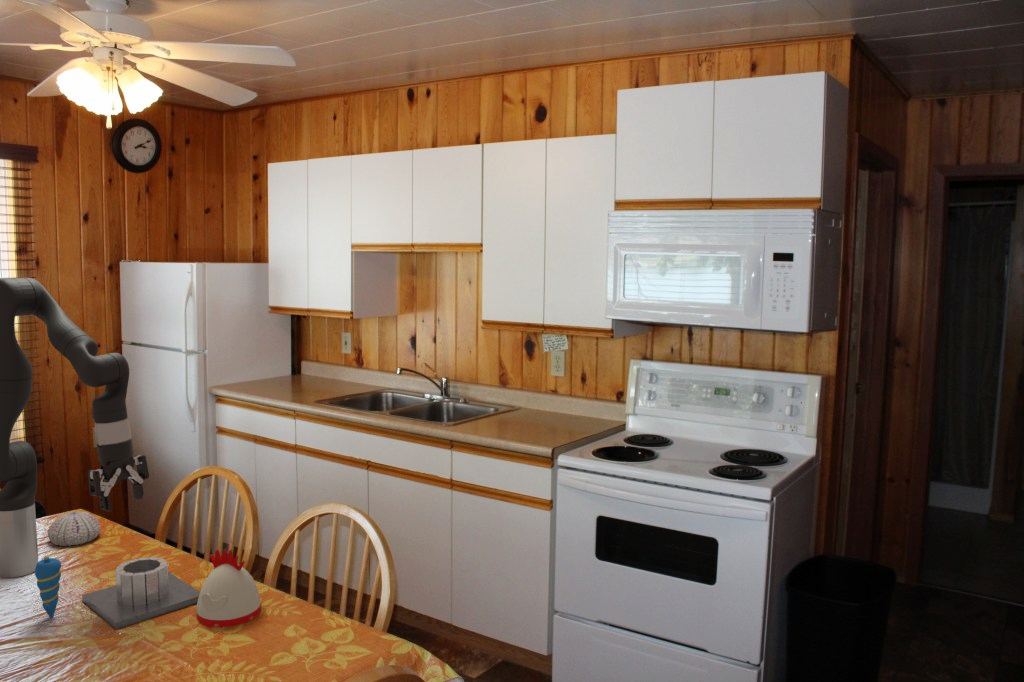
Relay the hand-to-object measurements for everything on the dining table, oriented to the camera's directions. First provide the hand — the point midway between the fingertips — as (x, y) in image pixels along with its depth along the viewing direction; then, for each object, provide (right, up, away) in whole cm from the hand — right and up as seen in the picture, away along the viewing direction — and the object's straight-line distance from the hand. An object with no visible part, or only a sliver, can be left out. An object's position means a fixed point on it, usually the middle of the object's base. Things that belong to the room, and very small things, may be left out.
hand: (123, 504), depth 194 cm
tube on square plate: (+6, -22, -2) cm, 23 cm away
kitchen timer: (+28, -23, -8) cm, 37 cm away
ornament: (-11, -23, -11) cm, 28 cm away
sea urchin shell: (-31, -17, +36) cm, 51 cm away
